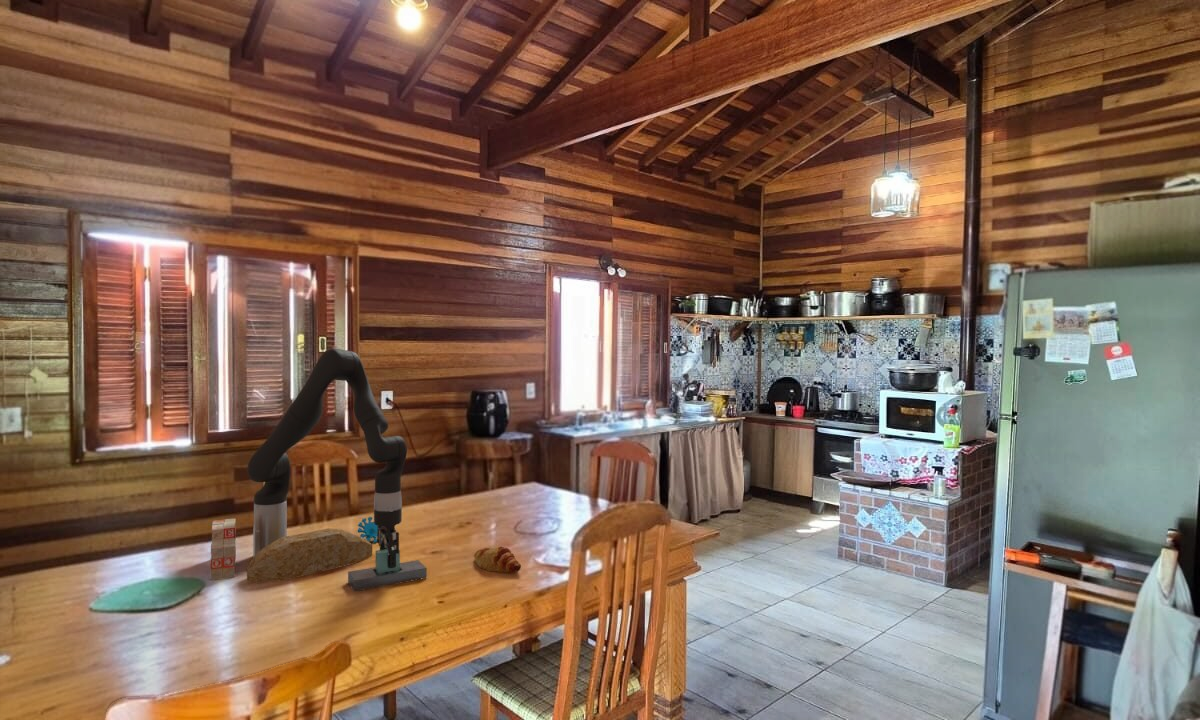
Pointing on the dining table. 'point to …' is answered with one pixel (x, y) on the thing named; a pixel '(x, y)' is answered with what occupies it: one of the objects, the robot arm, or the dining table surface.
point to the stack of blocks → (223, 549)
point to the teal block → (385, 562)
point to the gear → (368, 529)
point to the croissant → (497, 559)
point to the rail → (386, 576)
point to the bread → (307, 555)
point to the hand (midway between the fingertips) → (387, 563)
